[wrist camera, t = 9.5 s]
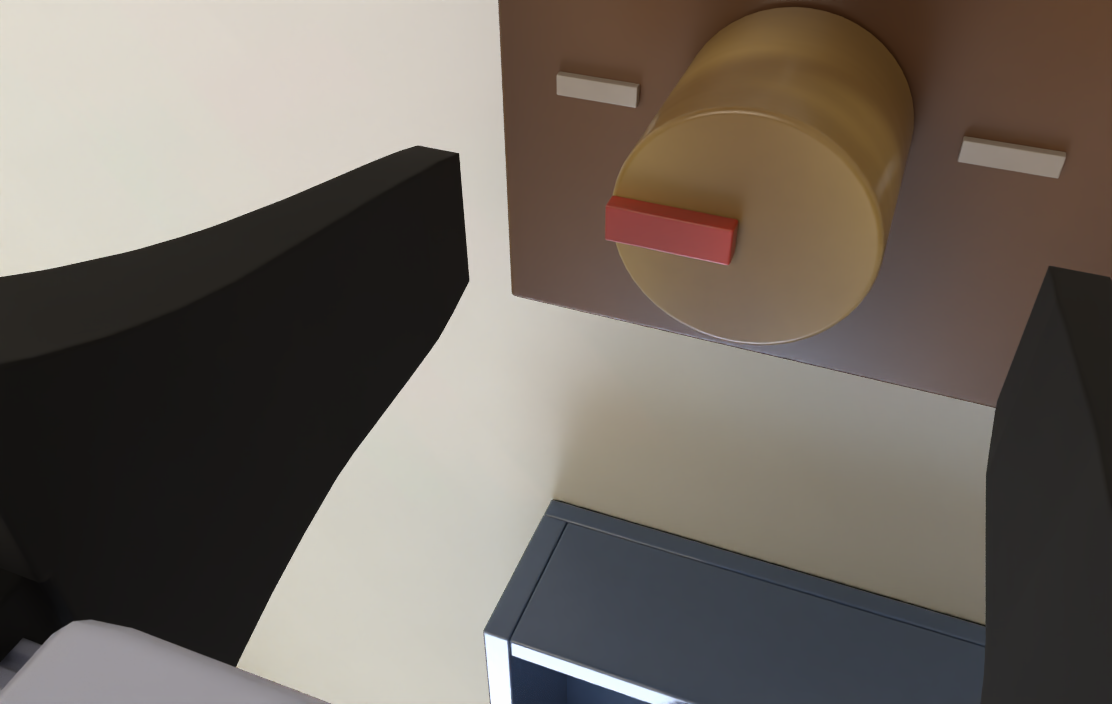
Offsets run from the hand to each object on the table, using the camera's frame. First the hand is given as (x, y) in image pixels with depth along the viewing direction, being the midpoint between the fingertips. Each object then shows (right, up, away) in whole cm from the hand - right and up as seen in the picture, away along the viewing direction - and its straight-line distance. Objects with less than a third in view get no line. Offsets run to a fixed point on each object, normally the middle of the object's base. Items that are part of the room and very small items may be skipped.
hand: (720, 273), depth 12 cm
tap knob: (+2, +3, +3) cm, 4 cm away
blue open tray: (+4, -12, +18) cm, 21 cm away
